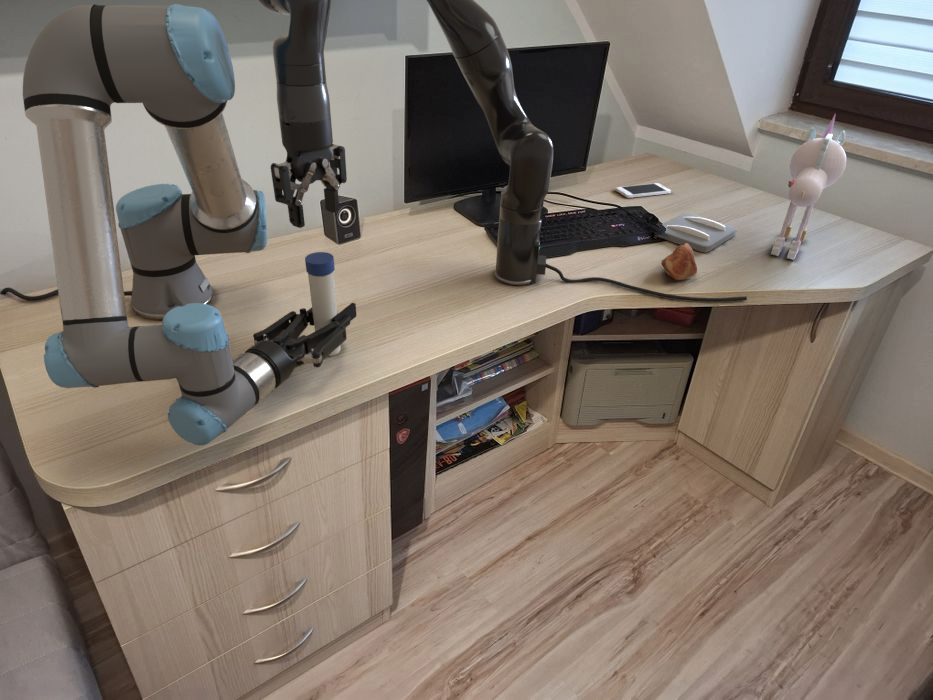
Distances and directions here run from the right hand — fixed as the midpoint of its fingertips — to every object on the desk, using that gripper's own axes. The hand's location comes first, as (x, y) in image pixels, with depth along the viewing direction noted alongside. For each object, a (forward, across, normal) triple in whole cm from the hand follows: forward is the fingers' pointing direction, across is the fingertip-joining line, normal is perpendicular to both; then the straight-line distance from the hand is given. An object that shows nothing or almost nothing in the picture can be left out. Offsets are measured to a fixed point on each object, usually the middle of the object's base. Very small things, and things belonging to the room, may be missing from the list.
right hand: (315, 218), depth 104 cm
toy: (+25, -108, +64) cm, 128 cm away
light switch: (+25, -95, +42) cm, 107 cm away
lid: (+7, 0, 0) cm, 7 cm away
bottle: (+26, 0, 0) cm, 26 cm away
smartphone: (+25, -119, +19) cm, 123 cm away
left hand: (+19, -5, -1) cm, 20 cm away
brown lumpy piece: (+25, -69, +45) cm, 86 cm away
